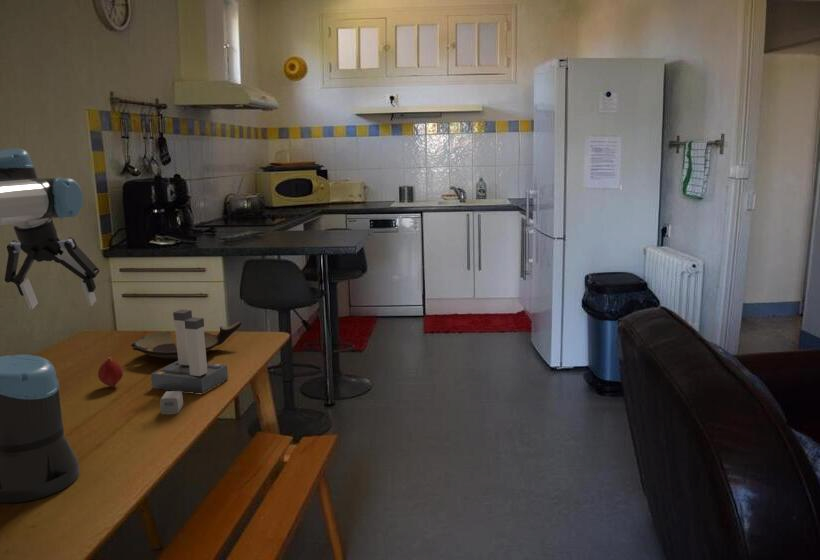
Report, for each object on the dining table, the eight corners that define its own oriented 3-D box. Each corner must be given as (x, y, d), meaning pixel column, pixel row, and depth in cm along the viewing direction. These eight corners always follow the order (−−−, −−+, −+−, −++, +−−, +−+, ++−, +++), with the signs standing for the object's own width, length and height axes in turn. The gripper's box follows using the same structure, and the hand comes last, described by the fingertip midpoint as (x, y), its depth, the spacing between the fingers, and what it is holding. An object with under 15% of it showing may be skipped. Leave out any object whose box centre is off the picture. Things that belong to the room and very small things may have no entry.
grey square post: (200, 376, 166) (195, 321, 163) (189, 375, 167) (184, 320, 164) (208, 372, 169) (203, 318, 166) (197, 370, 170) (192, 317, 167)
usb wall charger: (161, 414, 154) (159, 398, 153) (168, 403, 161) (167, 387, 160) (179, 414, 154) (177, 397, 154) (186, 402, 161) (184, 386, 160)
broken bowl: (144, 347, 206) (142, 322, 204) (244, 341, 210) (243, 317, 208) (124, 371, 184) (121, 344, 183) (236, 365, 188) (234, 338, 186)
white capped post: (188, 365, 174) (183, 313, 171) (177, 364, 175) (173, 312, 172) (195, 361, 177) (191, 310, 174) (185, 360, 178) (181, 309, 175)
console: (202, 394, 166) (201, 379, 165) (152, 388, 171) (150, 373, 170) (228, 379, 176) (226, 364, 175) (180, 374, 181) (178, 359, 180)
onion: (94, 388, 171) (91, 358, 169) (113, 381, 176) (110, 352, 174) (110, 392, 168) (106, 362, 167) (129, 385, 173) (125, 355, 172)
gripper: (97, 210, 147) (123, 293, 157) (-17, 216, 147) (17, 298, 158) (83, 225, 140) (111, 310, 151) (-36, 232, 140) (1, 316, 151)
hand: (63, 304), depth 154 cm, fingers open, 13 cm apart
